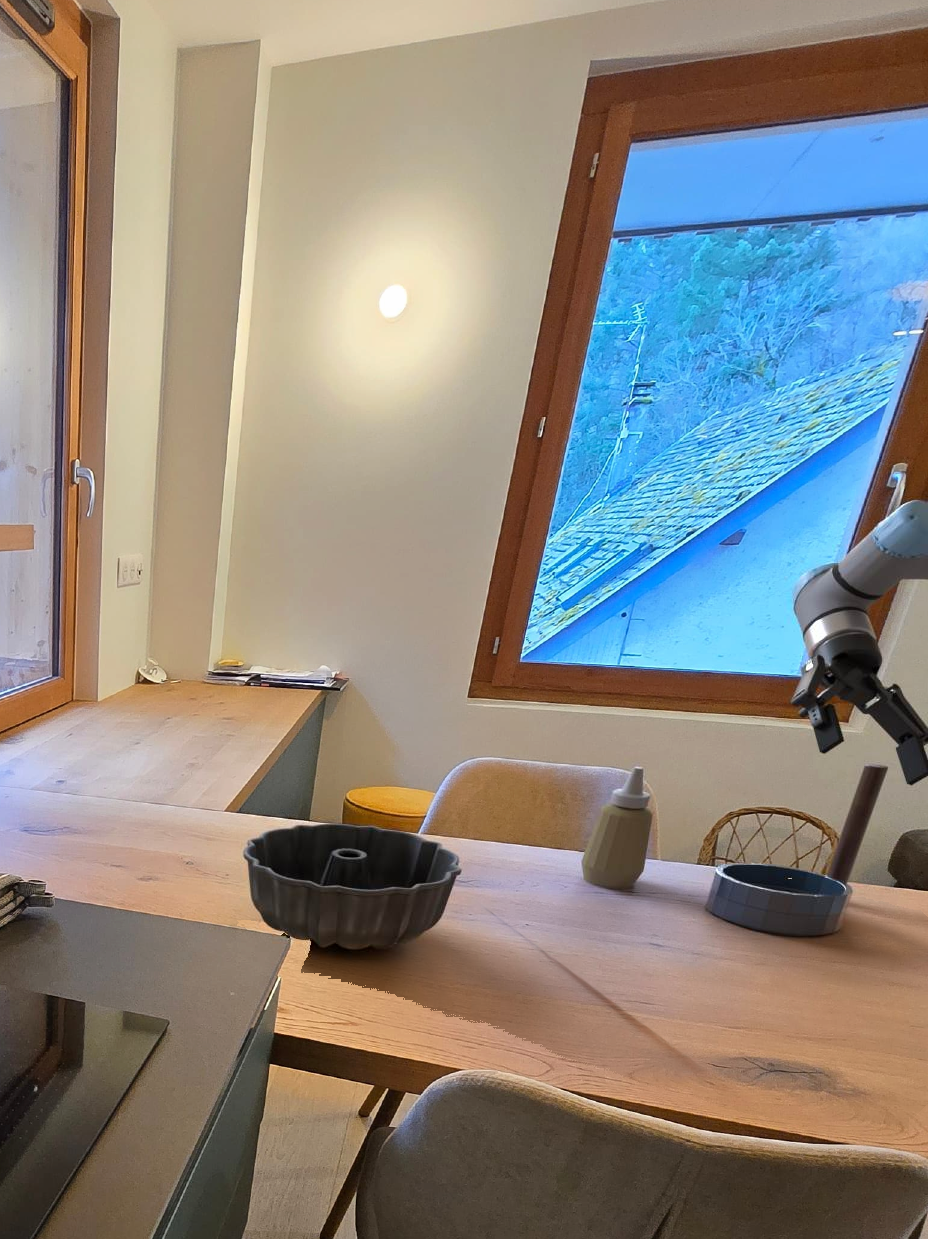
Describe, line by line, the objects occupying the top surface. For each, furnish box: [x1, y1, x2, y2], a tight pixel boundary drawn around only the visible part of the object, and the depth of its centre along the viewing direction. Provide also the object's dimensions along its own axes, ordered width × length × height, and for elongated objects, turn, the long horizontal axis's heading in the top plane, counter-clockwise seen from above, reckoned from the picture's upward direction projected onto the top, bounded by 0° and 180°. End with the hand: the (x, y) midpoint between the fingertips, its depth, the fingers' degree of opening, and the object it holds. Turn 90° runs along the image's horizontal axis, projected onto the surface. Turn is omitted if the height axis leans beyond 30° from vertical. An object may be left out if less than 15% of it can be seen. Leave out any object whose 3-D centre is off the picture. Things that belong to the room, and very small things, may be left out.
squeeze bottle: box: [581, 766, 654, 890], centre depth 137 cm, size 8×8×18 cm
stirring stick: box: [826, 763, 889, 884], centre depth 130 cm, size 5×5×20 cm
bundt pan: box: [242, 823, 463, 950], centre depth 124 cm, size 26×26×10 cm
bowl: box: [704, 862, 854, 938], centre depth 128 cm, size 15×15×6 cm
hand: (876, 763), depth 127 cm, fingers open, 13 cm apart
